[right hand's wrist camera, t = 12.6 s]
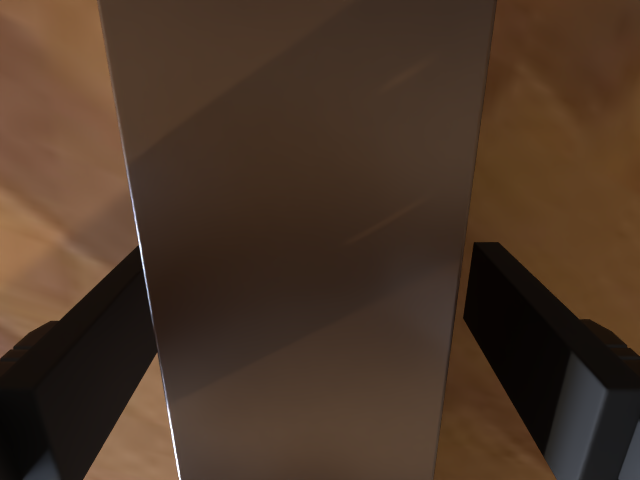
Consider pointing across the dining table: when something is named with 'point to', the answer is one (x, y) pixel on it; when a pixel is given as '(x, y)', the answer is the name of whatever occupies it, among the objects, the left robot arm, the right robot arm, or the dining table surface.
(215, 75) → the beam
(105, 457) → the dining table surface
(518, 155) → the dining table surface
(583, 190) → the dining table surface
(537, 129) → the dining table surface
